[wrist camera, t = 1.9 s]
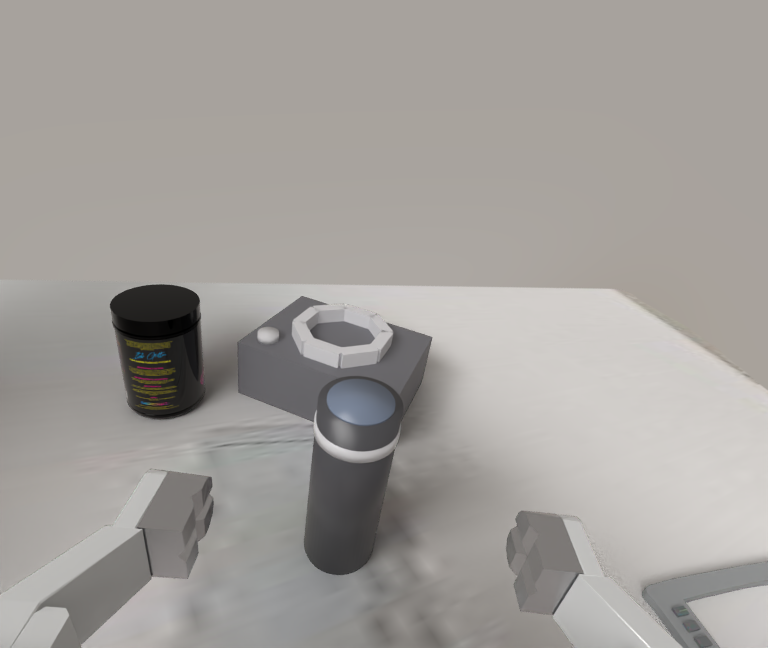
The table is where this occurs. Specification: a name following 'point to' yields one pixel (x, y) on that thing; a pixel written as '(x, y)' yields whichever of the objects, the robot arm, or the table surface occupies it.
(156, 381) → the supplement container
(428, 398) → the table surface
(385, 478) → the lens
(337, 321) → the camera body
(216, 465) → the table surface
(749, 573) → the office telephone
